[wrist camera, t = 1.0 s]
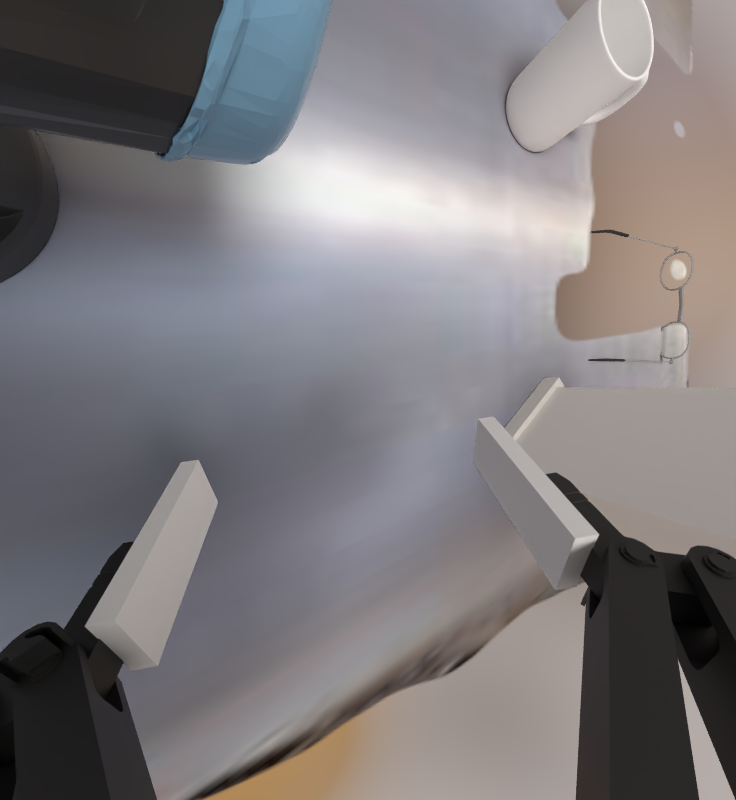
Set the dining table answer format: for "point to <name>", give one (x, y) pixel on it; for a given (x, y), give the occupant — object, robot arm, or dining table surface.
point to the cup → (582, 72)
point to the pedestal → (641, 457)
